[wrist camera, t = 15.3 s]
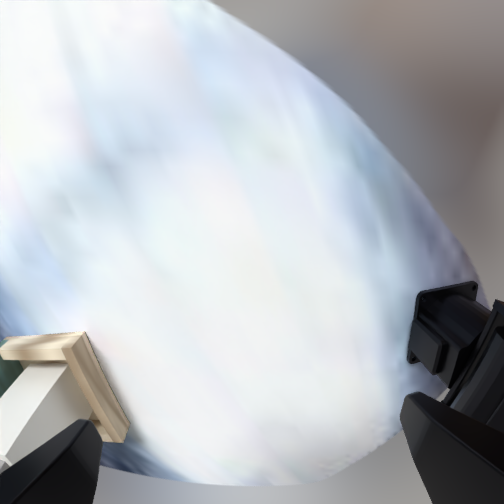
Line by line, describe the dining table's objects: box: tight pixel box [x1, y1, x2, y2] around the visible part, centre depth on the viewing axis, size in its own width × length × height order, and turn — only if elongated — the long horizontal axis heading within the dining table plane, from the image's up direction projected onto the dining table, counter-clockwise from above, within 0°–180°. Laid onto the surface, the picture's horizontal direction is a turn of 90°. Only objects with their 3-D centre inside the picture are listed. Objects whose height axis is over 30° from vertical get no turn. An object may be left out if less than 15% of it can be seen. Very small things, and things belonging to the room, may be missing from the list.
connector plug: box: [0, 363, 93, 474], centre depth 15 cm, size 5×5×13 cm
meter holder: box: [0, 331, 130, 443], centre depth 18 cm, size 10×10×7 cm
